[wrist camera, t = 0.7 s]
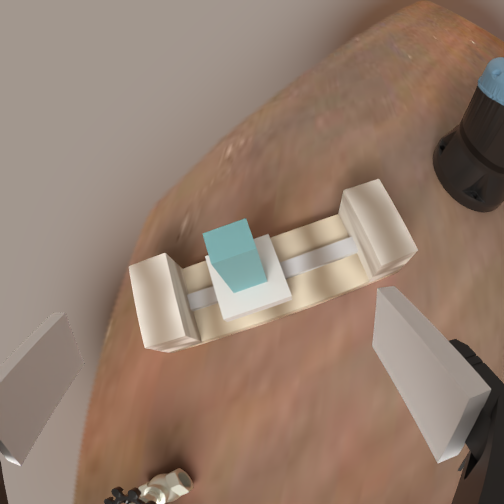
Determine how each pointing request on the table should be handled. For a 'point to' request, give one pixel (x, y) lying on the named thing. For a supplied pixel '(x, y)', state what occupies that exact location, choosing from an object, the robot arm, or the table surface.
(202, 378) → the table surface
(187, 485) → the valve
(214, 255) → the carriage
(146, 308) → the rail board
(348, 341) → the table surface
